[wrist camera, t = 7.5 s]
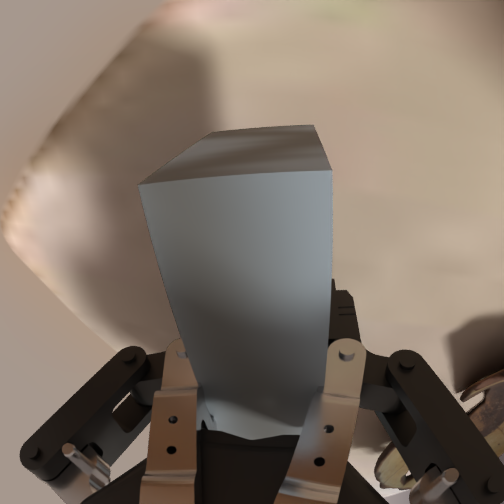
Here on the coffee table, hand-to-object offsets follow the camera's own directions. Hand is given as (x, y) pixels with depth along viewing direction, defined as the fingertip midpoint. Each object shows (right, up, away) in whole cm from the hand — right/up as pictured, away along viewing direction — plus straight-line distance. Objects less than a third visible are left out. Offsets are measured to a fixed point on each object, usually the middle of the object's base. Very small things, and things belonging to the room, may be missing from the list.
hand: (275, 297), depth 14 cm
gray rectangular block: (0, -1, +1) cm, 1 cm away
